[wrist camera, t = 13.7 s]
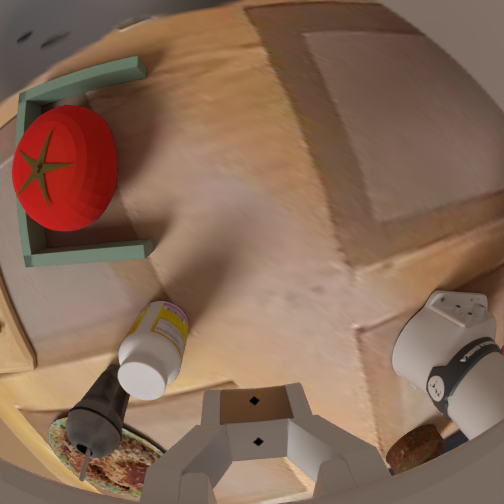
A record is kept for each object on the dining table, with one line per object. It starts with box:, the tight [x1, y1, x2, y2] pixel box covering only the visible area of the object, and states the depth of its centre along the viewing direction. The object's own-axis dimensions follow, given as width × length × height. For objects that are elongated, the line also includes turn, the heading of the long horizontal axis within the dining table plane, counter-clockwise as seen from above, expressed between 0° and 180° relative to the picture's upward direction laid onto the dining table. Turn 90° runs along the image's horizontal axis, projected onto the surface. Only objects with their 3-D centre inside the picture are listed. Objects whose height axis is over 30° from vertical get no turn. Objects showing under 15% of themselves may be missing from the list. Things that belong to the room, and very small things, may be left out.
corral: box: [15, 56, 154, 267], centre depth 29 cm, size 18×23×4 cm
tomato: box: [12, 105, 117, 231], centre depth 26 cm, size 14×13×10 cm
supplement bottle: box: [118, 301, 189, 400], centre depth 29 cm, size 7×7×13 cm
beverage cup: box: [66, 365, 130, 481], centre depth 27 cm, size 7×7×20 cm
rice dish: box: [48, 417, 164, 497], centre depth 40 cm, size 28×28×5 cm
